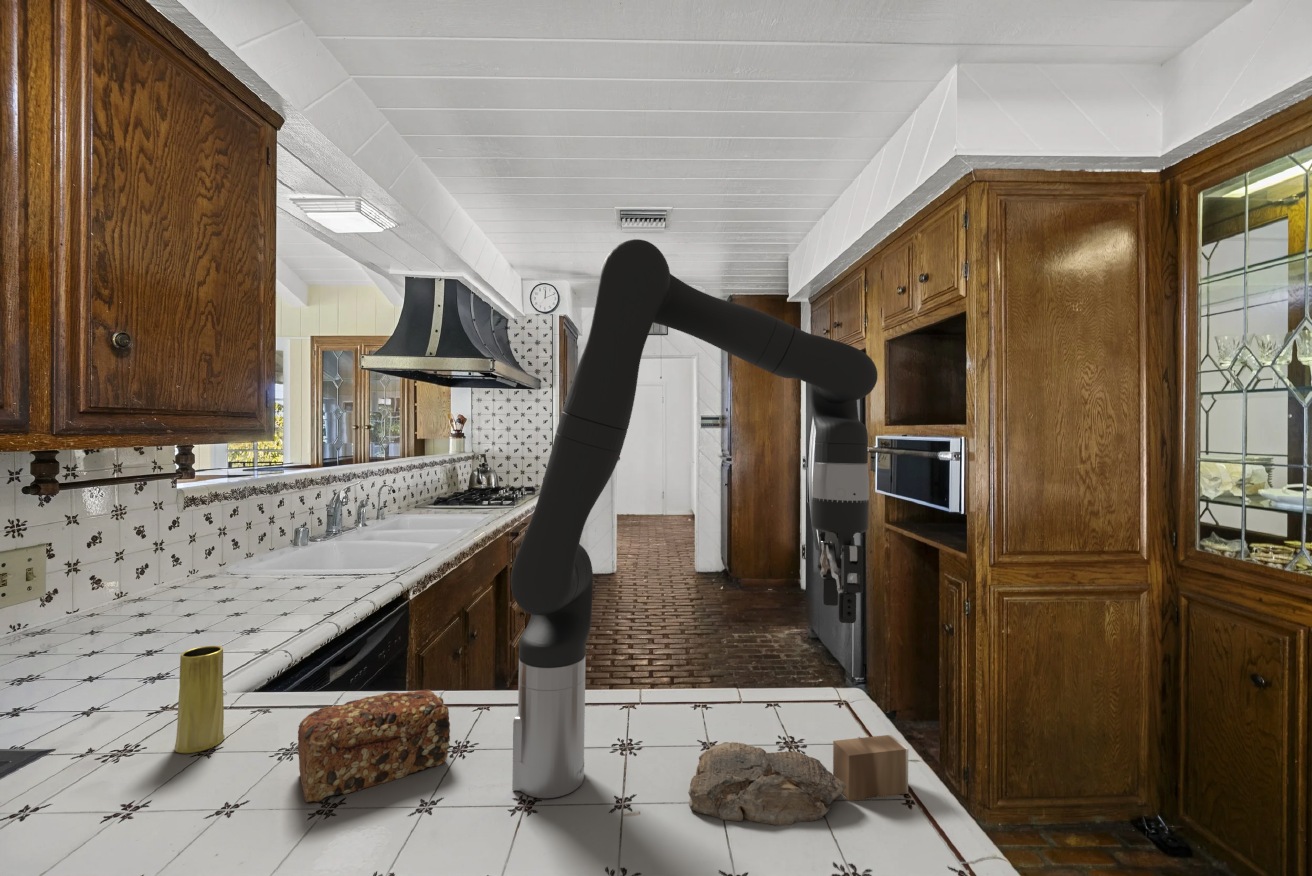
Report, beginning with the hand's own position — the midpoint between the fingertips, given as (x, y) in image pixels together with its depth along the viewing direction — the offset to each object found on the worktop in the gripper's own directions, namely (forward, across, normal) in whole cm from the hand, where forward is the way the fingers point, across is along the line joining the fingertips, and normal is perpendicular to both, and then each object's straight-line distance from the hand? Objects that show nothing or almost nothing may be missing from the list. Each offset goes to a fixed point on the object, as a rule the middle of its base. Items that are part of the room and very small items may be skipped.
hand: (838, 612), depth 81 cm
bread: (+25, 0, +65) cm, 70 cm away
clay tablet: (+25, -2, +9) cm, 27 cm away
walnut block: (+21, -1, 0) cm, 21 cm away
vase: (+25, +5, +95) cm, 99 cm away
